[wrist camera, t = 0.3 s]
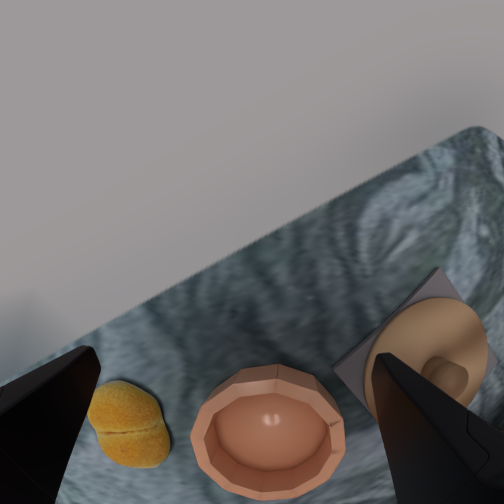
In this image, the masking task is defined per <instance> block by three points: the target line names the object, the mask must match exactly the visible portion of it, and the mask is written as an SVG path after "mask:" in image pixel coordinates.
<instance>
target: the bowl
mask: <svg viewBox="0 0 504 504" xmlns="http://www.w3.org/2000/svg"><path fill="white" fill-rule="evenodd" d="M190 438H191V442H192V445H193V449H194V452H195V455H196V458H197V462H198V465H199V467H200V468H201V469H202V470H203V471H204V472H205V473H206V474H207V475H209V476H210V477H211V478H212V479H213V480H214V481H215V482H216V483H217V484H218V485H220V486H221V487H222V488H223V489H225V490H227V491H230V492H233V493H236V494H239V495H242V496H245V497H249V498H252V499H255V500H260V501H262V500H276V499H287V498H296V497H298V496H300V495H302V494H304V493H306V492H308V491H310V490H312V489H313V488H315V487H317V486H319V485H321V484H322V483H324V482H326V481H327V480H329V478H330V477H331V475H332V474H333V472H334V470H335V469H336V467H337V466H338V464H339V462H340V461H341V459H342V457H343V456H344V454H345V452H346V447H345V434H344V423H343V418H342V416H341V413H340V411H339V408H338V406H337V403H336V401H335V399H334V398H333V397H332V396H331V395H330V393H329V392H328V391H327V390H326V389H325V388H324V387H323V386H322V384H321V383H320V382H319V381H318V380H317V379H316V378H315V377H314V375H311V374H308V373H305V372H302V371H299V370H296V369H293V368H290V367H287V366H284V365H281V364H279V365H278V364H273V365H266V366H259V367H251V368H244V369H241V370H239V371H238V372H237V373H235V374H234V375H233V376H231V377H230V378H229V379H227V380H226V381H224V382H223V383H222V384H220V385H219V386H217V387H216V388H215V389H214V390H213V391H212V393H211V394H210V395H209V397H208V398H207V399H206V401H205V402H204V403H203V404H202V406H201V408H200V411H199V413H198V416H197V419H196V421H195V424H194V427H193V429H192V432H191V435H190Z"/></svg>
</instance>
